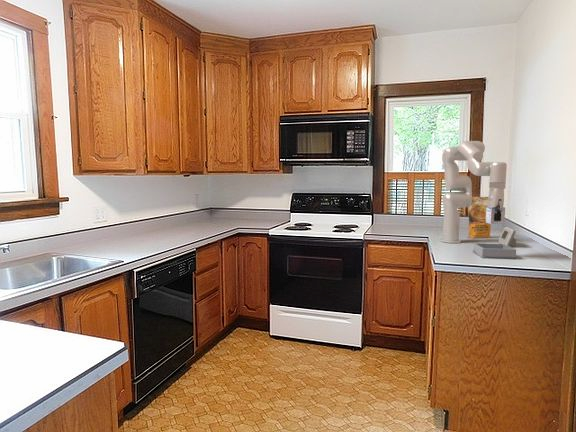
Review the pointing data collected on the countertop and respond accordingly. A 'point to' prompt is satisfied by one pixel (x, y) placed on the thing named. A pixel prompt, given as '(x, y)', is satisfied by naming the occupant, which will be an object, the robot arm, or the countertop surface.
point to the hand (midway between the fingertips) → (495, 219)
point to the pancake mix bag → (478, 218)
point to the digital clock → (508, 237)
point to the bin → (494, 251)
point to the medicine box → (490, 216)
